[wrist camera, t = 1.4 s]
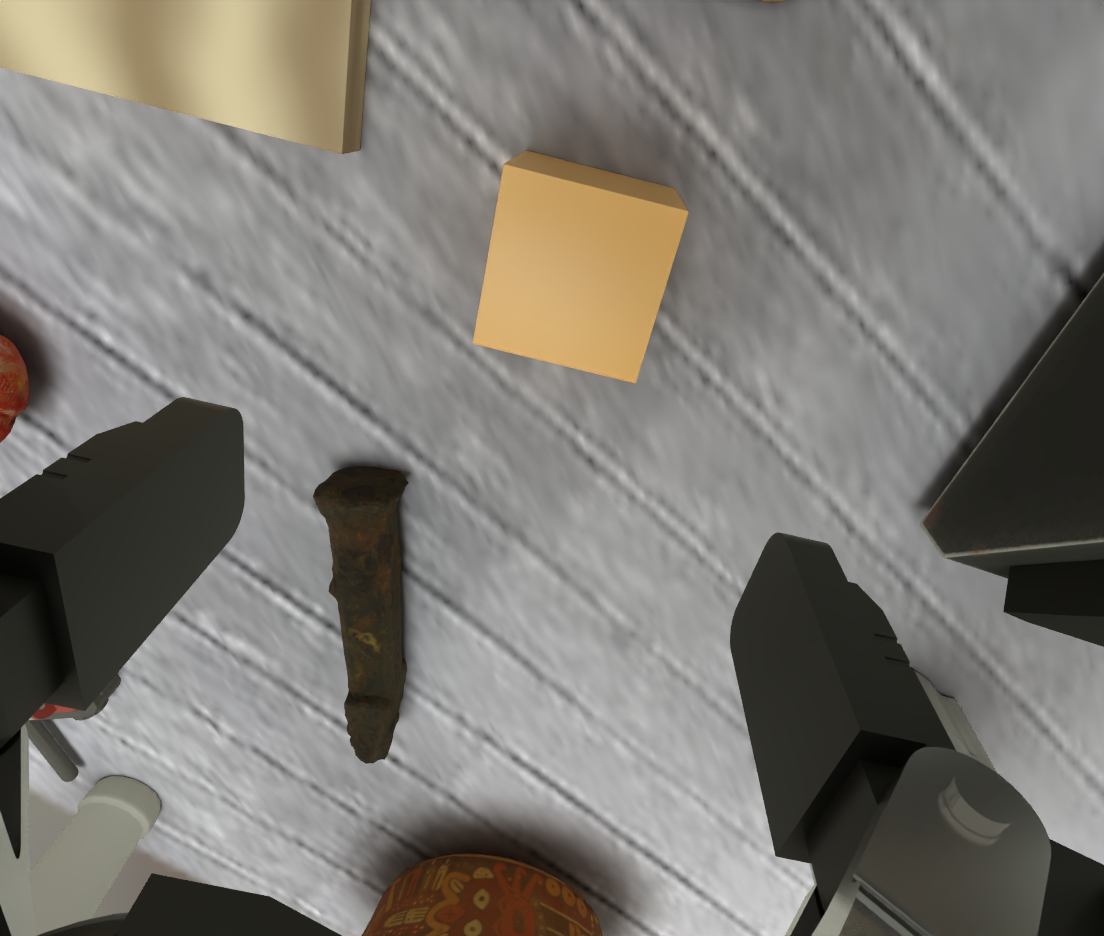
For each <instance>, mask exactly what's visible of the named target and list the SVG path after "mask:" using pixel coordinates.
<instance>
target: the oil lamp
mask: <svg viewBox="0 0 1104 936" xmlns="http://www.w3.org/2000/svg"><path fill="white" fill-rule="evenodd" d="M761 1H764V2H770V3H775V2H781V1H786V0H761Z"/></svg>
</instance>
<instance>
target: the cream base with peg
mask: <svg viewBox="0 0 1104 936" xmlns="http://www.w3.org/2000/svg"><path fill="white" fill-rule="evenodd" d="M370 7H371V0H0V67H1V68H5V69H9V70H13V71H17V72H21V73H24V74H28V75H32V76H36V77H40V78H44V79H48V80H52V81H56V82H60V83H64V84H68V85H72V86H76V87H80V88H84V89H88V90H91V91H95V92H99V93H103V94H107V95H111V96H115V97H119V98H123V99H127V100H131V101H135V102H139V103H143V104H147V105H151V106H155V107H158V108H162V109H166V110H170V111H174V112H178V113H182V114H186V115H190V116H194V117H198V118H202V119H206V120H210V121H214V122H218V123H222V124H225V125H229V126H233V127H237V128H241V129H245V130H249V131H253V132H257V133H261V134H265V135H269V136H273V137H277V138H281V139H285V140H289V141H292V142H296V143H300V144H304V145H308V146H312V147H316V148H320V149H324V150H328V151H332V152H336V153H340V154H345V153H349V152H354V151H359V150H360V142H361V129H362V115H363V102H364V88H365V75H366V61H367V48H368V34H369V21H370Z"/></svg>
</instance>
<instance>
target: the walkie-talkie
mask: <svg viewBox="0 0 1104 936" xmlns="http://www.w3.org/2000/svg"><path fill="white" fill-rule="evenodd" d="M120 681H121V678H120V677H119V675H118V674H116V675H115V676H114V677H113V679H112V680H111V681H110V682H109V683H108V685H107V686H106V687H105V688H104V689H103V690H102V692H101V693H100V694H99V695H98V696H97V698H96V699H95V700H94V701H93V702H92V703H91V705H90V706H89V707H88V708H87V709H86V711H81V710H76V709H72V708H67V707H62V706H57V705H52V704H47V703H44V704H43V705H42V706H41V707H40V708H39V709H38V710H37V711H36V712H35V713H34V714H33V716H32V717H31V718H30V719H29V720H28V721H27V722H26V723H25V725H26V728H27V732H28V737H29V739H30V740H31V741H32V743H33V744H34V745H35V746H36V748H37V749H38V750H39V751H40V753H41V754H42V755H43V756H44V758H45V759H46V760H47V761H48V763H49V764H50V765H51V766H52V768H53V769H54V770H55V771H56V773H57V774H58V775H59V776H60V778H61V779H62V780H63V781H65V782H69V781H72V780H74V779H75V778H76V777H77V775H78V769H77V767H76V766H75V765H74V763H73V762H72V761H71V760H70V758H69V757H68V756H67V754H66V753H65V752H64V750H63V749H62V748H61V747H60V745H59V744H58V743H57V741H56V740H55V739H54V738H53V736H52V735H51V734H50V732H49V731H48V730H47V728H46V727H45V726H44V725H43V723H42V722H41V721H40V720H46V719H60V718H74V719H75V720H85V719H89V718H90V717H92V716H94V715H96V714H98V713H99V712H100V711H101V710H102V709H103V708H104V707H105V706H106V704H107V702H108V700H109V699H108V698H109V696H110V695H111V694H112V693H113V692H114V691H115V689H116V688H117V687H118V686H119V685H120Z"/></svg>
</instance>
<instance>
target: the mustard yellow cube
mask: <svg viewBox="0 0 1104 936" xmlns="http://www.w3.org/2000/svg"><path fill="white" fill-rule="evenodd" d="M688 213H689V211H688V209H687V207H686V206H685V204H684V203H683V201H682V199H681V198H680V196H679V194H678V193H677V191H676V190H675V188H671V187H667V186H663V185H659V184H655V183H651V182H648V181H644V180H640V179H636V178H632V177H628V176H624V175H620V174H616V173H612V172H609V171H605V170H601V169H597V168H593V167H589V166H585V165H581V164H577V163H573V162H570V161H566V160H562V159H558V158H554V157H550V156H546V155H542V154H538V153H534V152H531V151H527V150H526V151H525V152H523V153H521V154H520V155H518V156H516V157H515V158H513V159H511V160H510V161H508V162H507V163H505V164H504V166H503V172H502V177H501V183H500V189H499V195H498V200H497V206H496V212H495V218H494V224H493V229H492V235H491V241H490V247H489V252H488V258H487V264H486V270H485V276H484V281H483V287H482V293H481V299H480V304H479V310H478V316H477V322H476V327H475V333H474V339H473V344H477V345H481V346H485V347H489V348H493V349H497V350H501V351H505V352H509V353H513V354H517V355H521V356H525V357H530V358H534V359H538V360H542V361H546V362H550V363H554V364H558V365H562V366H566V367H570V368H574V369H578V370H583V371H587V372H591V373H595V374H599V375H603V376H607V377H611V378H615V379H619V380H623V381H627V382H631V383H635V384H636V381H637V377H638V374H639V371H640V368H641V364H642V361H643V358H644V355H645V352H646V348H647V345H648V342H649V339H650V335H651V332H652V329H653V326H654V323H655V319H656V316H657V313H658V310H659V306H660V303H661V300H662V297H663V294H664V290H665V287H666V284H667V281H668V277H669V274H670V271H671V268H672V265H673V261H674V258H675V255H676V252H677V248H678V245H679V242H680V239H681V236H682V232H683V229H684V226H685V223H686V220H687V216H688Z"/></svg>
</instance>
